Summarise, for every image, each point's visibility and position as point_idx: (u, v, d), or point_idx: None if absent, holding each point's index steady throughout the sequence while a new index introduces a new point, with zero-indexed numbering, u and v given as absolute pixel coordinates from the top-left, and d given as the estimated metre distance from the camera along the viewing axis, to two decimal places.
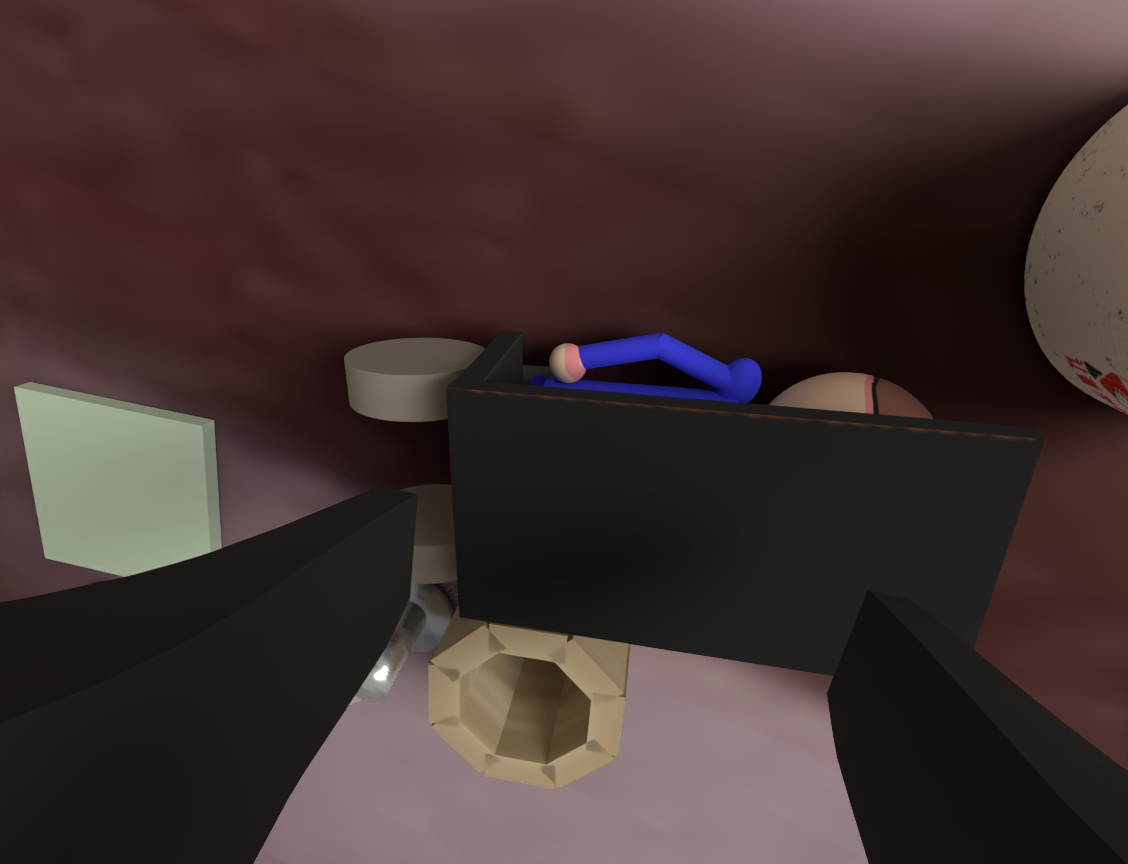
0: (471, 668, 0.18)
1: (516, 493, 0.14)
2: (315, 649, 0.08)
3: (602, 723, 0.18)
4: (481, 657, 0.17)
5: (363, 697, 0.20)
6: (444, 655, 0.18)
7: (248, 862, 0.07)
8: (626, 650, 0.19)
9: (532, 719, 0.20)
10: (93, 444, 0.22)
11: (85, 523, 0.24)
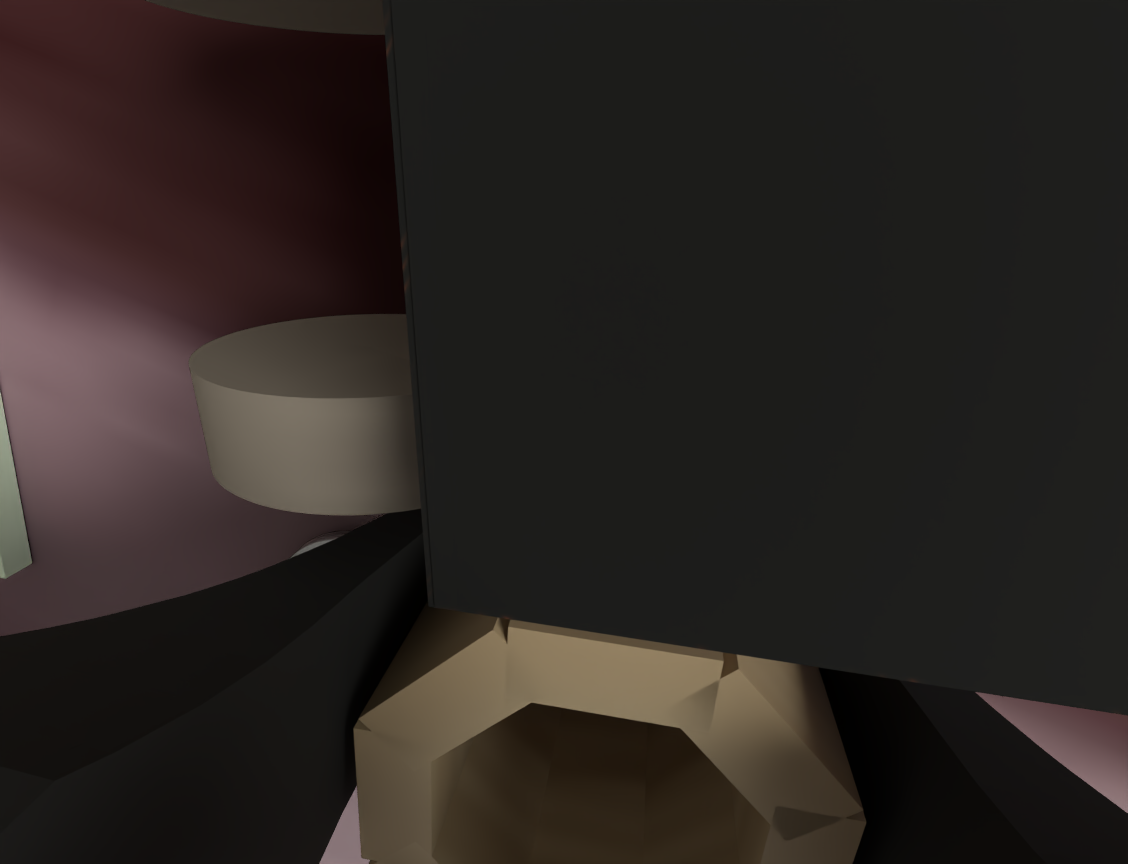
0: (461, 739, 0.07)
1: (663, 65, 0.03)
2: (371, 662, 0.08)
3: None
4: (486, 713, 0.07)
5: None
6: (392, 706, 0.07)
7: None
8: (823, 688, 0.08)
9: (594, 833, 0.09)
10: None
11: None
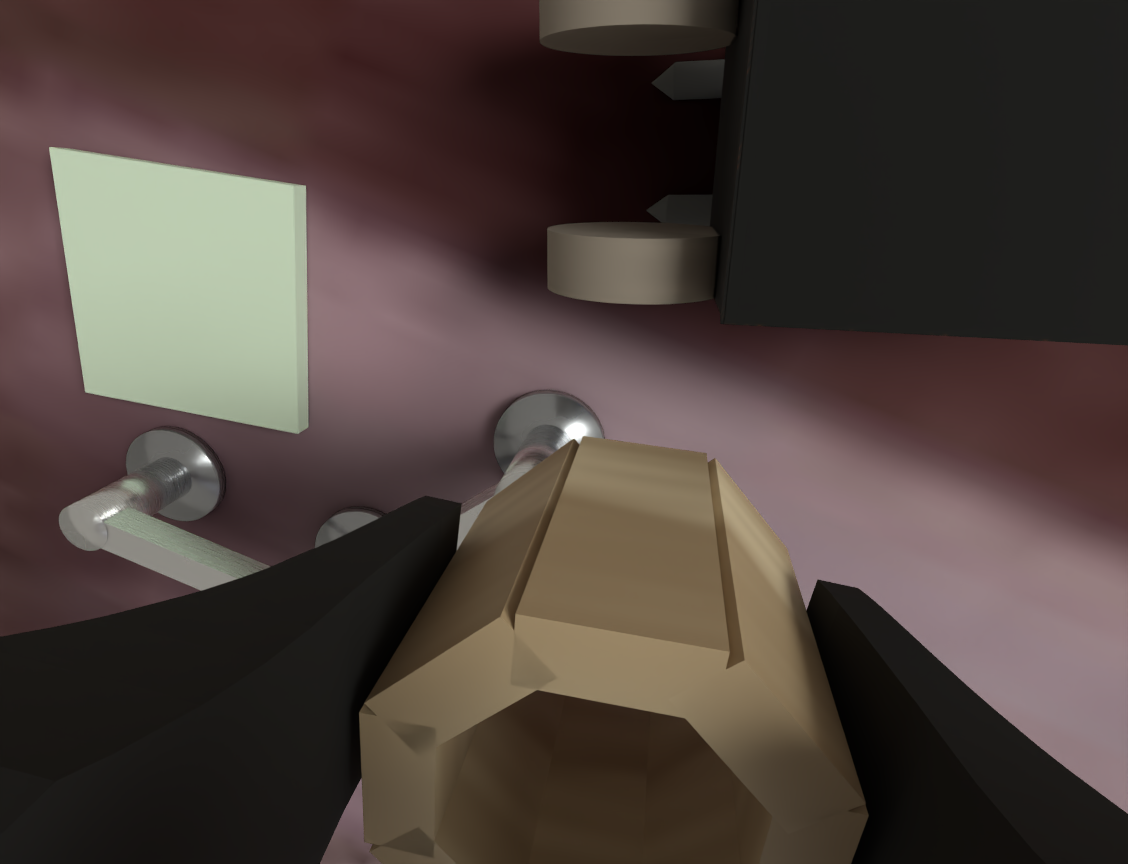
0: (465, 726, 0.07)
1: (856, 76, 0.09)
2: (371, 662, 0.08)
3: None
4: (491, 700, 0.07)
5: None
6: (398, 692, 0.07)
7: None
8: (827, 683, 0.08)
9: (594, 823, 0.09)
10: (150, 224, 0.18)
11: (137, 339, 0.19)
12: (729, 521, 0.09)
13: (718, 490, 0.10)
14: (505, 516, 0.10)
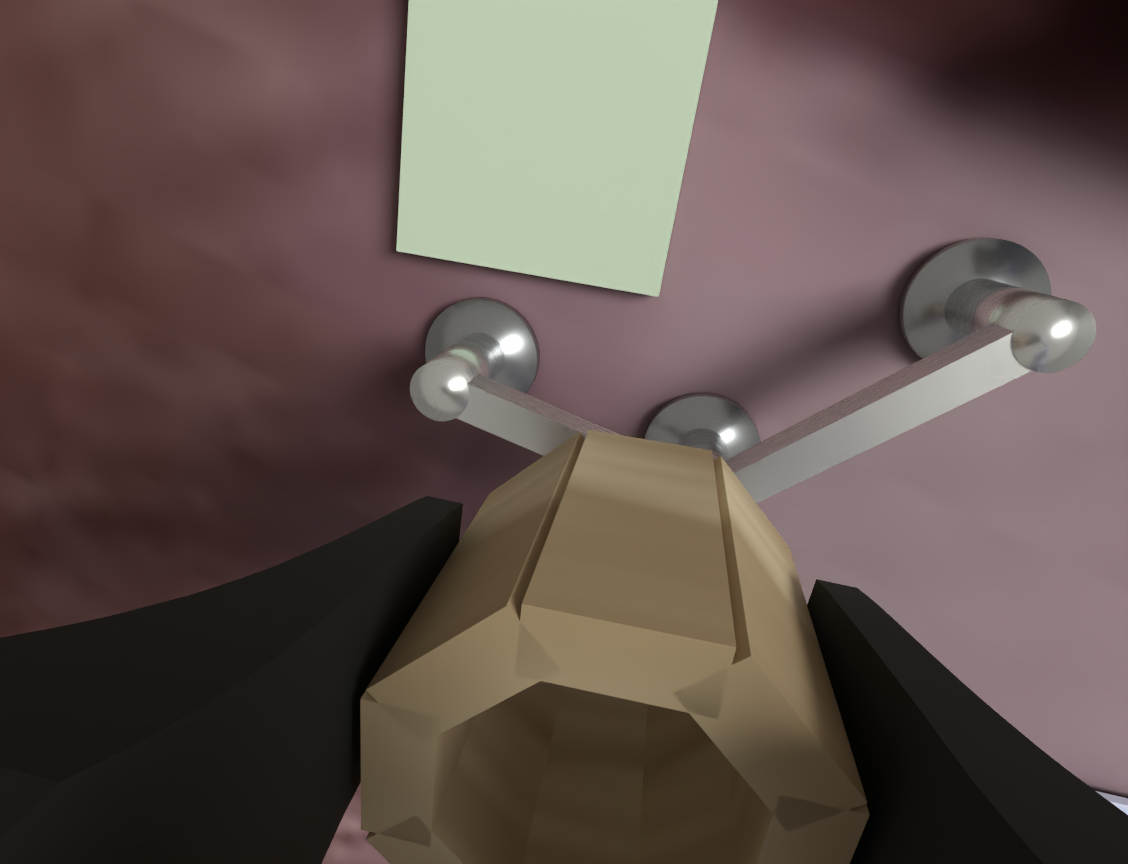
0: (467, 715, 0.07)
1: None
2: (372, 663, 0.08)
3: None
4: (494, 689, 0.07)
5: (1036, 365, 0.12)
6: (400, 679, 0.07)
7: None
8: (829, 683, 0.08)
9: (591, 817, 0.09)
10: (523, 29, 0.15)
11: (476, 181, 0.16)
12: (735, 518, 0.09)
13: (724, 488, 0.10)
14: (509, 507, 0.10)
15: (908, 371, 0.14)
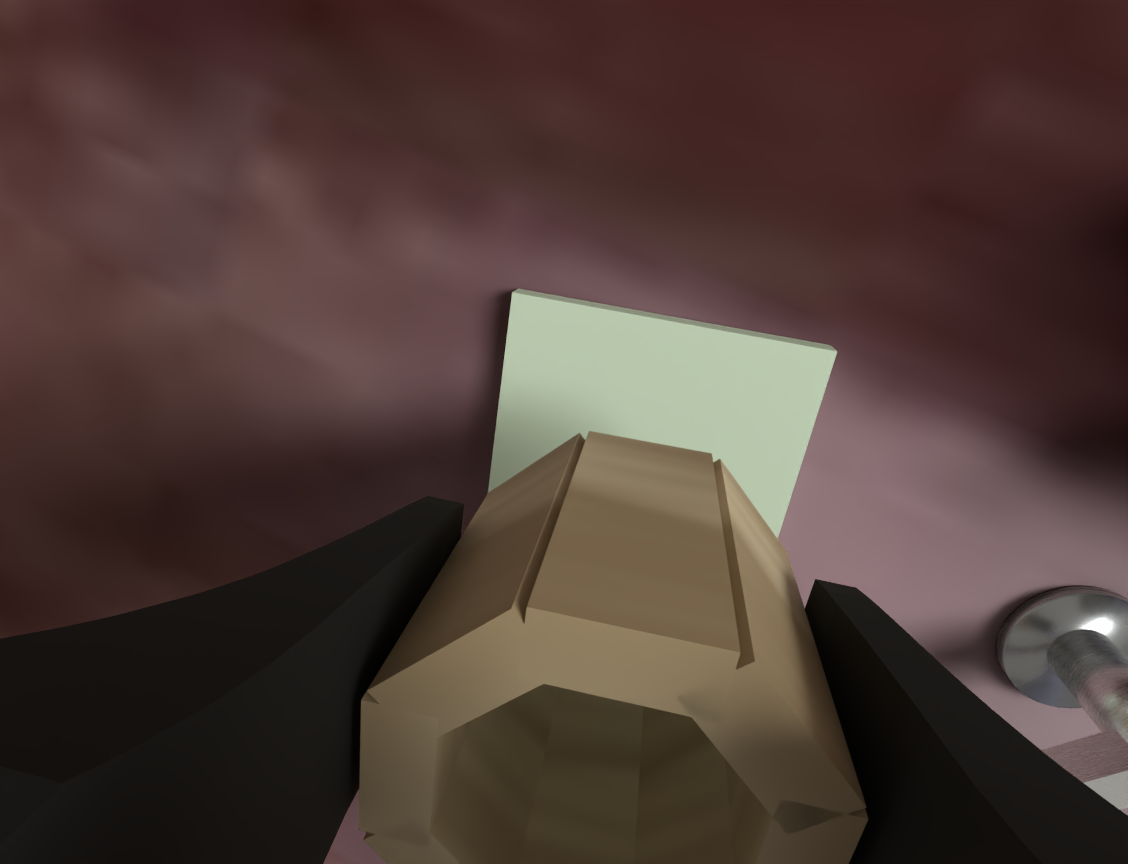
0: (469, 717, 0.07)
1: None
2: (374, 663, 0.08)
3: None
4: (497, 692, 0.07)
5: None
6: (402, 680, 0.07)
7: None
8: (827, 687, 0.08)
9: (587, 817, 0.09)
10: (624, 385, 0.14)
11: None
12: (735, 522, 0.09)
13: (724, 491, 0.10)
14: (509, 508, 0.10)
15: None
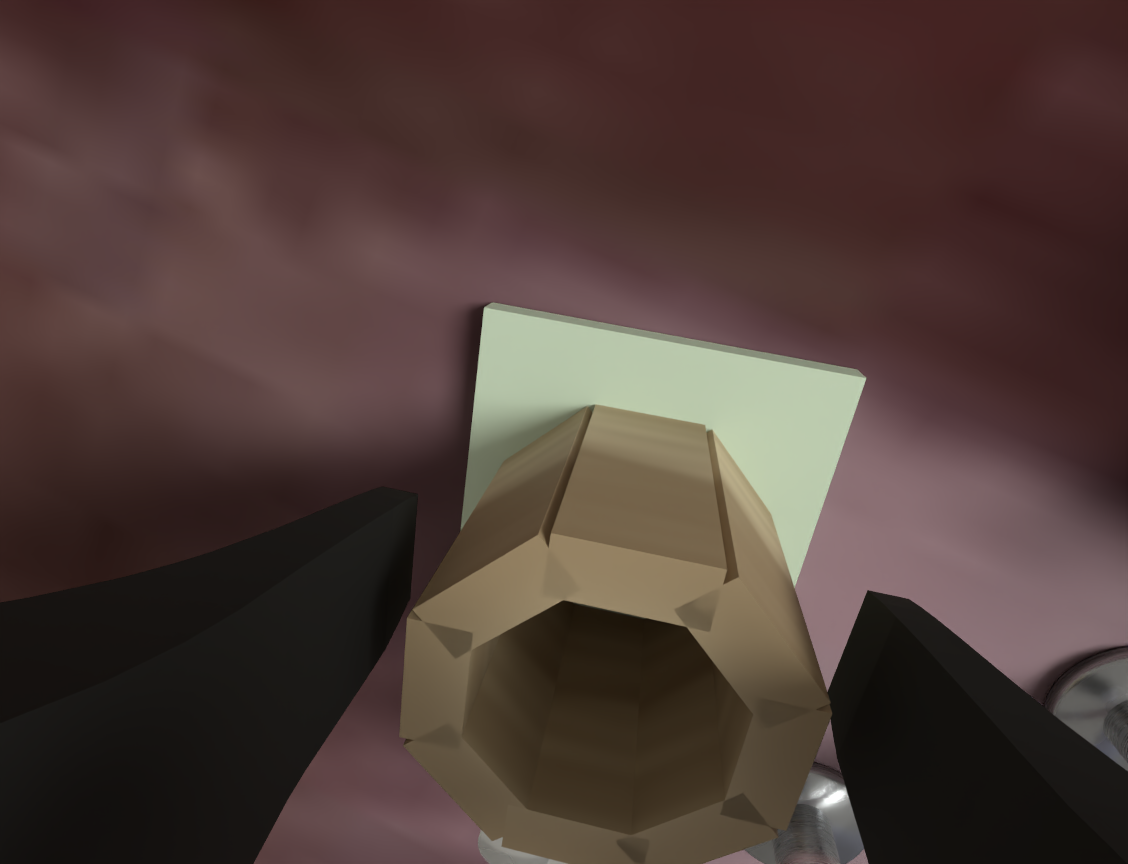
0: (499, 631, 0.08)
1: None
2: (315, 649, 0.08)
3: (768, 763, 0.08)
4: (524, 608, 0.08)
5: None
6: (443, 600, 0.08)
7: (248, 862, 0.07)
8: (802, 617, 0.09)
9: (594, 739, 0.11)
10: None
11: None
12: (725, 479, 0.10)
13: (716, 455, 0.11)
14: (527, 468, 0.11)
15: None
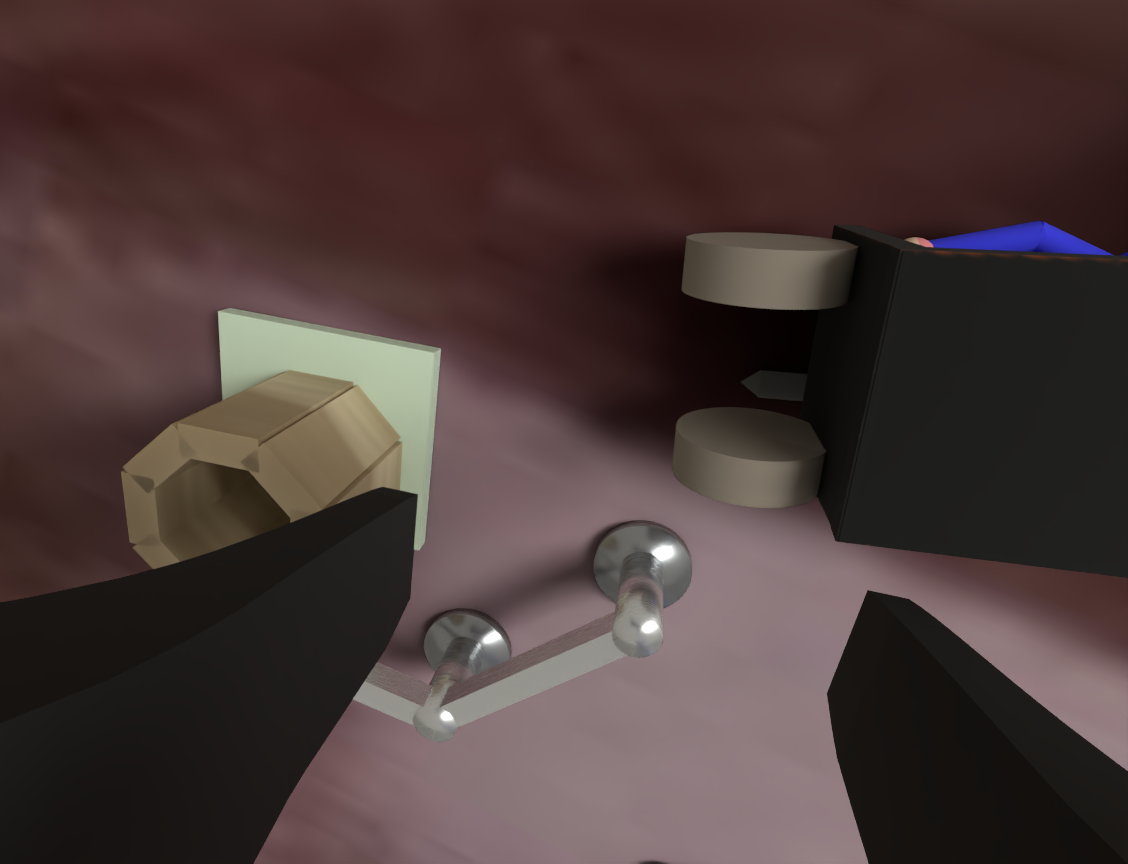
0: (165, 477, 0.16)
1: (959, 383, 0.12)
2: (315, 649, 0.08)
3: None
4: (173, 463, 0.16)
5: (629, 653, 0.18)
6: (136, 461, 0.16)
7: (248, 862, 0.07)
8: (351, 479, 0.17)
9: None
10: None
11: None
12: (329, 408, 0.18)
13: (338, 397, 0.19)
14: None
15: (561, 640, 0.19)
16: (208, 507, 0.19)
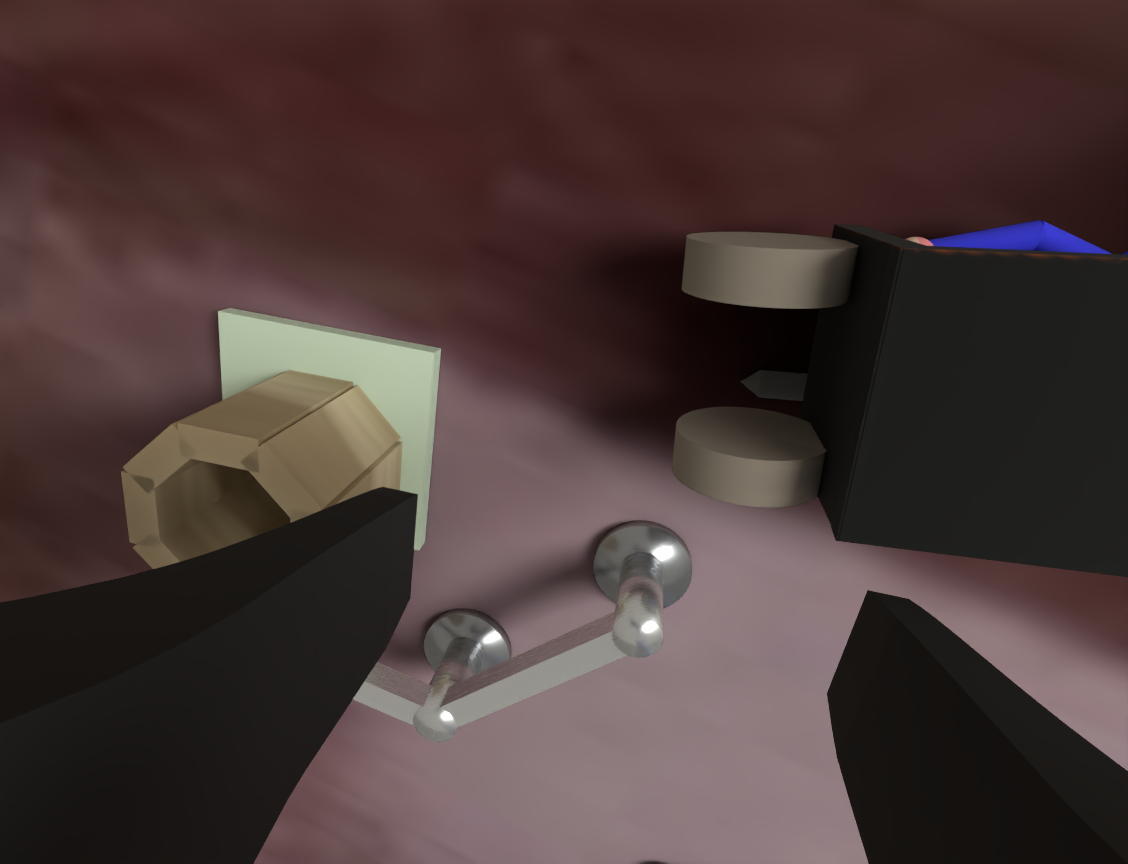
0: (165, 477, 0.16)
1: (959, 383, 0.12)
2: (315, 649, 0.08)
3: None
4: (173, 463, 0.16)
5: (629, 653, 0.18)
6: (136, 461, 0.16)
7: (248, 862, 0.07)
8: (351, 479, 0.17)
9: None
10: None
11: None
12: (329, 408, 0.18)
13: (338, 397, 0.19)
14: None
15: (561, 640, 0.19)
16: (208, 507, 0.19)
